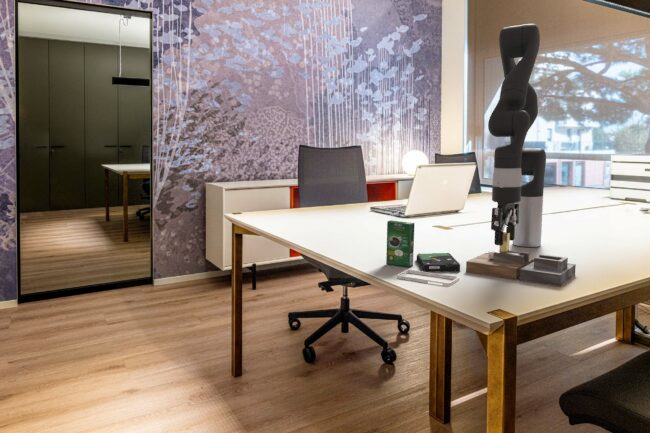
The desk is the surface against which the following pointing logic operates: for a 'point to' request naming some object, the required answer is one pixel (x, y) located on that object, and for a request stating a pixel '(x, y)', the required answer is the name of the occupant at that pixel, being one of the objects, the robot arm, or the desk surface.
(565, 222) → the desk surface
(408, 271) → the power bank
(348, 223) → the desk surface
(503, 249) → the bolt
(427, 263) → the disk drive
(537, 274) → the door and jamb
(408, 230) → the coffee box
